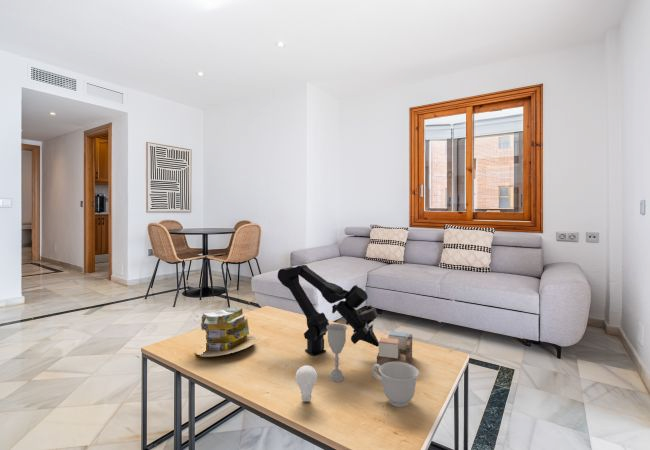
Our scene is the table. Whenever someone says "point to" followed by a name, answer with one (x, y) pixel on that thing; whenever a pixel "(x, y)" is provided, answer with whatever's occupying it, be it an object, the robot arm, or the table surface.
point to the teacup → (397, 381)
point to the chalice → (336, 346)
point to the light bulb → (306, 381)
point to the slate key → (400, 336)
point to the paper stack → (226, 332)
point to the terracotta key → (389, 347)
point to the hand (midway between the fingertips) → (378, 345)
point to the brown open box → (403, 355)
